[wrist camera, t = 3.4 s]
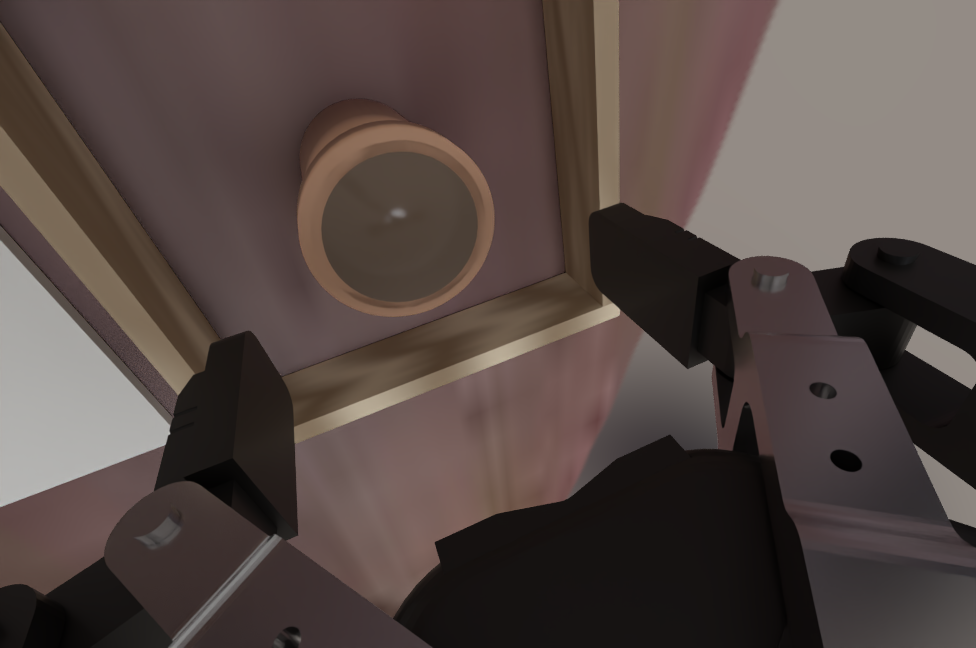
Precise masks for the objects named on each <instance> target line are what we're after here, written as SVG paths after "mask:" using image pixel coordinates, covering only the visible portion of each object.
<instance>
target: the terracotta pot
mask: <svg viewBox="0 0 976 648" xmlns="http://www.w3.org/2000/svg"><path fill="white" fill-rule="evenodd" d="M299 160H300V170H301V177H302V183H301V186H300V189H299V194H298V199H297V223H298V234H299V242H300V246H301V250H302V254H303V256H304V259H305V261H306V264H307V266H308V268H309V269H310V271H311V273H312V275H313V276H314V277H315V279H316V280H317V281H318V283H319V284H320V285H321V286H322V287H323V288H324V289H325V290H326V291H327V292H328V293H329V294H330V295H331V296H333V297H334V298H336V299H337V300H338V301H340V302H341V303H343V304H345V305H347V306H349V307H351V308H353V309H355V310H358V311H360V312H364V313H367V314H371V315H377V316H384V317H400V316H409V315H414V314H419V313H422V312H425V311H429V310H431V309H433V308H436V307H438V306H440V305H442V304H444V303H445V302H447V301H449V300H450V299H452V298H453V297H454V296H456V295H457V294H458V293H460V292H461V291H462V290H463V289H464V288H465V287H466V286H467V285H468V284H469V283H470V282H471V281H472V279H473V278H474V277H475V276H476V274H477V273H478V271H479V270H480V268H481V267H482V265H483V263H484V261H485V259H486V257H487V254H488V252H489V249H490V246H491V242H492V238H493V232H494V206H493V200H492V196H491V193H490V189H489V187H488V185H487V182H486V180H485V178H484V176H483V174H482V173H481V171H480V169H479V168H478V167H477V165H476V164H475V163H474V162H473V160H472V159H471V158H470V157H469V156H468V155H467V154H466V153H465V152H464V151H463V150H461V149H460V148H459V147H457V146H456V145H454V144H453V143H452V142H450V141H449V140H448V139H446V138H445V137H443V136H442V135H441V134H439V133H437V132H435V131H433V130H431V129H430V128H427V127H425V126H422V125H419V124H416V123H411V122H409V121H408V120H407V119H405V118H404V117H403V116H402V115H400V114H399V113H398V112H396V111H395V110H394V109H392V108H390V107H388V106H387V105H385V104H382V103H379V102H377V101H373V100H368V99H348V100H343V101H340V102H337V103H334V104H332V105H330V106H329V107H327V108H325V109H324V110H323V111H321V112H320V113H319V114H318V115H317V116H316V117H315V118H314V119H313V120H312V121H311V123H310V124H309V126H308V127H307V129H306V131H305V133H304V136H303V139H302V142H301V147H300V157H299Z"/></svg>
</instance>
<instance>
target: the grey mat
mask: <svg viewBox="0 0 976 648" xmlns="http://www.w3.org/2000/svg"><path fill="white" fill-rule="evenodd" d="M172 419H173V417H172V416H171V415H170V414H169V413H168V412H167V411H166V409H165V408H164V407H163V406H162V405H161V404H160V403H159V402H158V401H157V399H156V398H155V397H154V396H153V395H152V394H151V393H150V392H149V391H148V389H147V388H146V387H145V386H144V385H143V384H142V383H141V382H140V381H139V379H138V378H137V377H136V376H135V375H134V374H133V373H132V372H131V370H130V369H129V368H128V367H127V366H126V365H125V364H124V363H123V362H122V360H121V359H120V358H119V357H118V356H117V355H116V354H115V353H114V352H113V350H112V349H111V348H110V347H109V346H108V345H107V344H106V343H105V341H104V340H103V339H102V338H101V337H100V336H99V335H98V334H97V333H96V331H95V330H94V329H93V328H92V327H91V326H90V325H89V324H88V323H87V321H86V320H85V319H84V318H83V317H82V316H81V315H80V314H79V313H78V311H77V310H76V309H75V308H74V307H73V306H72V305H71V304H70V302H69V301H68V300H67V299H66V298H65V297H64V296H63V295H62V294H61V292H60V291H59V290H58V289H57V288H56V287H55V286H54V285H53V284H52V282H51V281H50V280H49V279H48V278H47V277H46V276H45V275H44V273H43V272H42V271H41V270H40V269H39V268H38V267H37V266H36V265H35V263H34V262H33V261H32V260H31V259H30V258H29V257H28V256H27V255H26V253H25V252H24V251H23V250H22V249H21V248H20V247H19V246H18V245H17V243H16V242H15V241H14V240H13V239H12V238H11V237H10V236H9V234H8V233H7V232H6V231H5V230H4V229H3V228H2V227H1V226H0V507H2V506H4V505H7V504H10V503H12V502H15V501H18V500H20V499H23V498H26V497H28V496H31V495H34V494H36V493H39V492H42V491H44V490H47V489H50V488H52V487H55V486H57V485H60V484H63V483H65V482H68V481H71V480H73V479H76V478H79V477H81V476H84V475H87V474H89V473H92V472H95V471H97V470H100V469H103V468H105V467H108V466H111V465H113V464H116V463H118V462H121V461H124V460H126V459H129V458H132V457H134V456H137V455H140V454H142V453H145V452H148V451H150V450H153V449H156V448H158V447H161V446H164V445H166V442H167V438H168V435H170V431H169V430H170V426H171V422H172Z"/></svg>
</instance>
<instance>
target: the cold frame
mask: <svg viewBox="0 0 976 648" xmlns="http://www.w3.org/2000/svg"><path fill="white" fill-rule="evenodd" d="M542 4H543V15H544V27H545V38H546V50H547V61H548V73H549V84H550V96H551V108H552V119H553V131H554V142H555V154H556V165H557V177H558V188H559V200H560V212H561V223H562V235H563V246H564V258H565V269H566V273H563V274H561V275H558V276H555V277H552V278H550V279H547V280H544V281H542V282H539V283H536V284H533V285H531V286H528V287H525V288H522V289H520V290H517V291H514V292H512V293H509V294H506V295H503V296H501V297H498V298H495V299H493V300H490V301H487V302H484V303H482V304H479V305H476V306H474V307H471V308H468V309H465V310H463V311H460V312H457V313H455V314H452V315H449V316H446V317H444V318H441V319H438V320H436V321H433V322H430V323H427V324H425V325H422V326H419V327H417V328H414V329H411V330H408V331H406V332H403V333H400V334H397V335H395V336H392V337H389V338H387V339H384V340H381V341H378V342H376V343H373V344H370V345H368V346H365V347H362V348H359V349H357V350H354V351H351V352H349V353H346V354H343V355H340V356H338V357H335V358H332V359H330V360H327V361H324V362H321V363H319V364H316V365H313V366H311V367H308V368H305V369H302V370H300V371H297V372H294V373H292V374H289V375H286V376H283V377H282V379H283V381H284V382H285V384H286V386H287V388H288V391H289V393H290V396H291V399H292V404H293V415H294V441H295V444H296V443H299V442H301V441H304V440H306V439H309V438H311V437H314V436H316V435H319V434H321V433H324V432H326V431H329V430H332V429H334V428H337V427H339V426H342V425H344V424H347V423H349V422H352V421H354V420H357V419H359V418H362V417H364V416H367V415H369V414H372V413H374V412H377V411H380V410H382V409H385V408H387V407H390V406H392V405H395V404H397V403H400V402H402V401H405V400H407V399H410V398H412V397H415V396H417V395H420V394H422V393H425V392H428V391H430V390H433V389H435V388H438V387H440V386H443V385H445V384H448V383H450V382H453V381H455V380H458V379H460V378H463V377H465V376H468V375H471V374H473V373H476V372H478V371H481V370H483V369H486V368H488V367H491V366H493V365H496V364H498V363H501V362H503V361H506V360H508V359H511V358H513V357H516V356H519V355H521V354H524V353H526V352H529V351H531V350H534V349H536V348H539V347H541V346H544V345H546V344H549V343H551V342H554V341H556V340H559V339H561V338H564V337H567V336H569V335H572V334H574V333H577V332H579V331H582V330H584V329H587V328H589V327H592V326H594V325H597V324H599V323H602V322H604V321H607V320H610V319H612V318H615V317H617V316H620V309H619V308H618V307H617V306H616V305H615V304H614V303H612V302H611V301H610V300H609V299H608V298H607V297H606V296H605V295H603V294H602V293H601V292H600V291H599V289H598V288H597V286H596V285H595V283H594V280H593V278H592V274H591V267H590V246H589V225H588V222H589V216H590V214H591V213H592V212H595V211H598V210H601V209H603V208H606V207H609V206H612V205H615V204H618V203H619V0H542ZM0 186H1V187H2V188H3V189H4V190H5V191H6V193H7V194H8V195H9V196H10V197H11V199H12V200H13V201H14V202H15V203H16V204H17V206H18V207H19V208H20V209H21V210H22V212H23V213H24V214H25V215H26V216H27V217H28V219H29V220H30V221H31V222H32V223H33V225H34V226H35V227H36V228H37V229H38V230H39V232H40V233H41V234H42V235H43V236H44V237H45V239H46V240H47V241H48V242H49V243H50V245H51V246H52V247H53V248H54V249H55V250H56V252H57V253H58V254H59V255H60V256H61V258H62V259H63V260H64V261H65V262H66V263H67V265H68V266H69V267H70V268H71V269H72V270H73V272H74V273H75V274H76V275H77V276H78V278H79V279H80V280H81V281H82V282H83V283H84V285H85V286H86V287H87V288H88V289H89V291H90V292H91V293H92V294H93V295H94V296H95V298H96V299H97V300H98V301H99V302H100V304H101V305H102V306H103V307H104V308H105V309H106V311H107V312H108V313H109V314H110V315H111V316H112V318H113V319H114V320H115V321H116V322H117V324H118V325H119V326H120V327H121V328H122V329H123V331H124V332H125V333H126V334H127V335H128V337H129V338H130V339H131V340H132V341H133V342H134V344H135V345H136V346H137V347H138V348H139V349H140V351H141V352H142V353H143V354H144V355H145V357H146V358H147V359H148V360H149V361H150V362H151V364H152V365H153V366H154V367H155V368H156V370H157V371H158V372H159V373H160V374H161V375H162V377H163V378H164V379H165V380H166V381H167V383H168V384H169V385H170V386H171V387H172V388H173V390H174V391H175V392H176V393H177V394H178V395H179V394H180V392H181V391H182V390H183V388H184V387H185V385H186V384H187V383H188V381H189V380H190V379H191V377H192V376H193V375H194V374H197V373H200V372H203V371H205V366H206V361H207V356H208V351H209V347H210V344H211V343H213V342H216V341H219V340H220V338H219V337H218V335H217V334H216V332H215V331H214V330H213V328H212V327H211V325H210V324H209V322H208V321H207V319H206V318H205V317H204V315H203V314H202V312H201V311H200V309H199V308H198V307H197V305H196V304H195V302H194V301H193V299H192V298H191V296H190V295H189V294H188V292H187V291H186V289H185V288H184V286H183V285H182V283H181V282H180V281H179V279H178V278H177V276H176V275H175V273H174V272H173V270H172V269H171V268H170V266H169V265H168V263H167V262H166V260H165V259H164V257H163V256H162V255H161V253H160V252H159V250H158V249H157V247H156V246H155V245H154V243H153V242H152V240H151V239H150V237H149V236H148V234H147V233H146V232H145V230H144V229H143V227H142V226H141V224H140V223H139V221H138V220H137V219H136V217H135V216H134V214H133V213H132V211H131V210H130V208H129V207H128V206H127V204H126V203H125V201H124V200H123V198H122V197H121V196H120V194H119V193H118V191H117V190H116V188H115V187H114V185H113V184H112V183H111V181H110V180H109V178H108V177H107V175H106V174H105V172H104V171H103V170H102V168H101V167H100V165H99V164H98V162H97V161H96V159H95V158H94V157H93V155H92V154H91V152H90V151H89V149H88V148H87V146H86V145H85V144H84V142H83V141H82V139H81V138H80V136H79V135H78V134H77V132H76V131H75V129H74V128H73V126H72V125H71V123H70V122H69V121H68V119H67V118H66V116H65V115H64V113H63V112H62V110H61V109H60V108H59V106H58V105H57V103H56V102H55V100H54V99H53V97H52V96H51V95H50V93H49V92H48V90H47V89H46V87H45V86H44V84H43V83H42V82H41V80H40V79H39V77H38V76H37V74H36V73H35V72H34V70H33V69H32V67H31V66H30V64H29V63H28V61H27V60H26V59H25V57H24V56H23V54H22V53H21V51H20V50H19V48H18V47H17V46H16V44H15V43H14V41H13V40H12V38H11V37H10V35H9V34H8V33H7V31H6V30H5V28H4V27H3V25H2V24H1V22H0Z"/></svg>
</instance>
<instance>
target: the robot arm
mask: <svg viewBox="0 0 976 648" xmlns="http://www.w3.org/2000/svg"><path fill="white" fill-rule="evenodd" d="M588 225H589V246H590V267H591V274H592V278H593V280H594V283H595V285H596V286H597V288H598V289H599V291H600V292H601V293H602V294H603V295H605V296H606V297H607V298H608V299H609V300H610V301H611V302H612V303H614V304H615V305H616V306H617V307H618V308H619V309H620V310H621V311H623V312H624V313H625V314H626V315H627V316H628V317H629V318H631V319H632V320H633V321H634V322H635V323H636V324H637V325H638V326H640V327H641V328H642V329H643V330H644V331H645V332H646V333H647V334H649V335H650V336H651V337H652V338H653V339H654V340H655V341H657V342H658V343H659V344H660V345H661V346H662V347H663V348H665V349H666V350H667V351H668V352H669V353H670V354H671V355H672V356H673V357H675V358H676V359H677V360H678V361H679V362H680V363H681V364H682V365H684V366H685V367H686V368H687V369H689V368H691V367H693V366H696V365H698V364H700V363H703V362H705V361H707V360H709V361H710V362H711V363H712V364H713V370H712V385H713V395H714V406H715V416H716V427H717V437H718V449H694V450H686V451H685V450H684V449H683V448H682V447H681V446H680V445H679V444H678V443H677V442H676V441H675V439H674V438H673V437H672V436H671V435H668V436H666V437H664V438H661V439H659V440H657V441H655V442H653V443H651V444H648V445H646V446H644V447H642V448H640V449H637V450H635V451H633V452H631V453H629V454H627V455H624V456H622V457H620V458H618V459H616V460H615V461H614V462H612V463H611V464H610V465H609V466H608V467H607V468H605V469H604V470H603V471H602V472H600V473H599V474H598V475H597V476H596V477H594V478H593V479H592V480H591V481H590V482H588V483H587V484H586V485H585V486H584V487H582V488H581V489H580V490H579V491H578V492H576V493H575V494H574V495H573V496H571V497H570V498H568V499H566V500H564V501H561V502H556V503H551V504H545V505H540V506H535V507H530V508H525V509H519V510H514V511H509V512H504V513H498V514H495V515H493V516H491V517H489V518H487V519H484V520H482V521H480V522H478V523H476V524H474V525H471V526H469V527H467V528H465V529H463V530H460V531H458V532H456V533H454V534H452V535H449V536H447V537H445V538H443V539H441V540H439V541H436V542H435V545H436V549H437V552H438V556H439V559H440V563H439V564H438V565H437V566H436V567H435V568H433V569H432V570H431V571H430V572H429V573H428V574H427V575H426V576H425V577H424V578H423V579H422V580H421V581H420V582H419V583H418V584H417V585H416V586H415V588H414V589H413V590H412V591H411V593H410V594H409V595H408V596H407V598H406V599H405V600H404V602H403V603H402V605H401V606H400V608H399V610H398V611H397V613H396V614H395V616H394V618H391V617H390V616H389V615H387V614H386V613H384V612H383V611H382V610H380V609H379V608H378V607H376V606H375V605H373V604H372V603H371V602H369V601H368V600H367V599H365V598H364V597H362V596H361V595H360V594H358V593H357V592H356V591H354V590H353V589H351V588H350V587H349V586H347V585H346V584H345V583H343V582H342V581H340V580H339V579H338V578H336V577H335V576H334V575H332V574H331V573H329V572H328V571H327V570H325V569H324V568H323V567H321V566H320V565H318V564H317V563H316V562H314V561H313V560H312V559H310V558H309V557H307V556H306V555H305V554H303V553H302V552H301V551H299V550H298V549H296V548H295V547H294V546H292V545H291V544H290V543H288V542H287V541H286V540H288V539H291V538H293V537H295V536H298V520H297V494H296V467H295V441H294V415H293V404H292V399H291V396H290V393H289V391H288V388H287V386H286V384H285V382H284V381H283V379H282V377H281V376H280V374H279V373H278V371H277V369H276V368H275V366H274V365H273V363H272V361H271V360H270V358H269V357H268V355H267V354H266V352H265V350H264V349H263V347H262V346H261V344H260V342H259V341H258V339H257V338H256V336H255V335H254V334H253V333H252V332H251V331H245V332H242V333H239V334H236V335H233V336H231V337H228V338H225V339H222V340H219V341H216V342H213V343H211V344H210V347H209V351H208V356H207V361H206V366H205V371H203V372H200V373H197V374H194V375H193V376H192V377H191V379H190V380H189V381H188V383H187V384H186V385H185V387H184V388H183V390H182V391H181V392H180V394H179V395H178V399H177V402H176V406H175V410H174V414H173V415H174V417H175V418H173V419H172V422H171V426H170V430H169V431H170V435H168V438H167V442H166V445H165V449H164V453H163V457H162V461H161V465H160V469H159V473H158V477H157V481H156V484H155V488H154V491H153V492H152V493H150V494H149V495H147V496H146V497H144V498H143V499H141V500H140V501H139V502H137V503H136V504H135V505H134V506H133V507H132V508H131V509H130V510H128V511H127V513H126V514H125V515H124V516H123V517H122V518H121V519H120V520H119V522H118V523H117V524H116V526H115V527H114V529H113V530H112V532H111V534H110V536H109V538H108V540H107V543H106V546H105V550H104V557H103V558H101V559H100V560H98V561H97V562H95V563H94V564H92V565H91V566H89V567H88V568H86V569H85V570H83V571H82V572H80V573H78V574H77V575H75V576H74V577H72V578H71V579H69V580H68V581H66V582H65V583H63V584H62V585H60V586H59V587H57V588H56V589H54V590H53V591H51V592H50V593H48V594H46V595H44V594H42V593H40V592H38V591H36V590H35V589H33V588H31V587H29V586H27V585H23V584H15V585H10V586H5V587H2V588H0V648H976V528H974V527H971V526H968V525H965V524H962V523H959V522H956V521H953V520H950V519H948V517H947V515H946V512H945V510H944V508H943V506H942V504H941V502H940V500H939V498H938V496H937V493H936V491H935V489H934V487H933V485H932V483H931V480H930V478H929V476H928V474H927V472H926V470H925V468H924V465H923V463H922V461H921V459H920V457H919V455H918V453H917V450H916V448H915V446H914V444H915V445H916V446H918V447H919V448H920V449H922V450H923V451H924V452H926V453H927V454H928V455H930V456H931V457H933V458H934V459H935V460H937V461H938V462H939V463H941V464H942V465H943V466H945V467H946V468H947V469H949V470H950V471H951V472H953V473H954V474H955V475H957V476H958V477H959V478H961V479H962V480H964V481H965V482H966V483H968V484H969V485H970V486H972V487H973V488H974V489H976V384H975V386H974V387H973V389H972V390H971V389H970V388H968V387H966V386H965V385H963V384H961V383H960V382H958V381H956V380H955V379H953V378H951V377H949V376H948V375H946V374H944V373H943V372H941V371H939V370H938V369H936V368H934V367H932V366H931V365H929V364H928V363H926V362H924V361H923V360H921V359H919V358H918V357H916V356H914V355H913V354H911V353H909V352H908V351H906V350H905V349H906V346H907V345H908V342H909V341H910V339H911V336H912V334H913V332H914V330H915V328H916V326H917V325H918V326H920V327H922V328H924V329H925V330H927V331H929V332H931V333H933V334H935V335H937V336H938V337H940V338H942V339H944V340H946V341H948V342H950V343H951V344H953V345H955V346H957V347H959V348H961V349H962V350H964V351H966V352H967V353H968V354H970V355H971V356H972V357H973V359H974V360H975V361H976V265H974V264H972V263H969V262H966V261H964V260H962V259H959V258H957V257H954V256H952V255H949V254H947V253H944V252H942V251H939V250H937V249H935V248H932V247H930V246H927V245H924V244H921V243H918V242H914V241H910V240H905V239H897V238H874V239H867V240H863V241H860V242H858V243H856V244H854V245H853V246H852V247H851V249H850V251H849V254H848V257H847V260H846V263H845V266H844V267H840V268H833V269H826V270H820V271H813V272H811V271H810V270H809V269H808V268H806V267H805V266H803V265H801V264H799V263H798V262H795V261H792V260H789V259H786V258H780V257H773V256H757V257H750V258H746V259H743V260H740V259H738V258H736V257H734V256H732V255H730V254H729V253H727V252H725V251H723V250H722V249H720V248H718V247H716V246H714V245H712V244H710V243H709V242H707V241H705V240H703V239H702V238H697V236H696V235H694V234H692V233H690V232H689V231H687V230H686V231H684V229H683V228H681V227H680V226H678V225H676V224H674V223H672V222H671V221H669V220H666V219H662V218H657V217H653V216H649V215H644V214H642V213H640V212H639V211H637V210H635V209H633V208H632V207H630V206H628V205H626V204H624V203H618V204H615V205H612V206H609V207H606V208H603V209H601V210H598V211H595V212H592V213H591V214H590V216H589V222H588ZM913 443H914V444H913Z"/></svg>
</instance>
